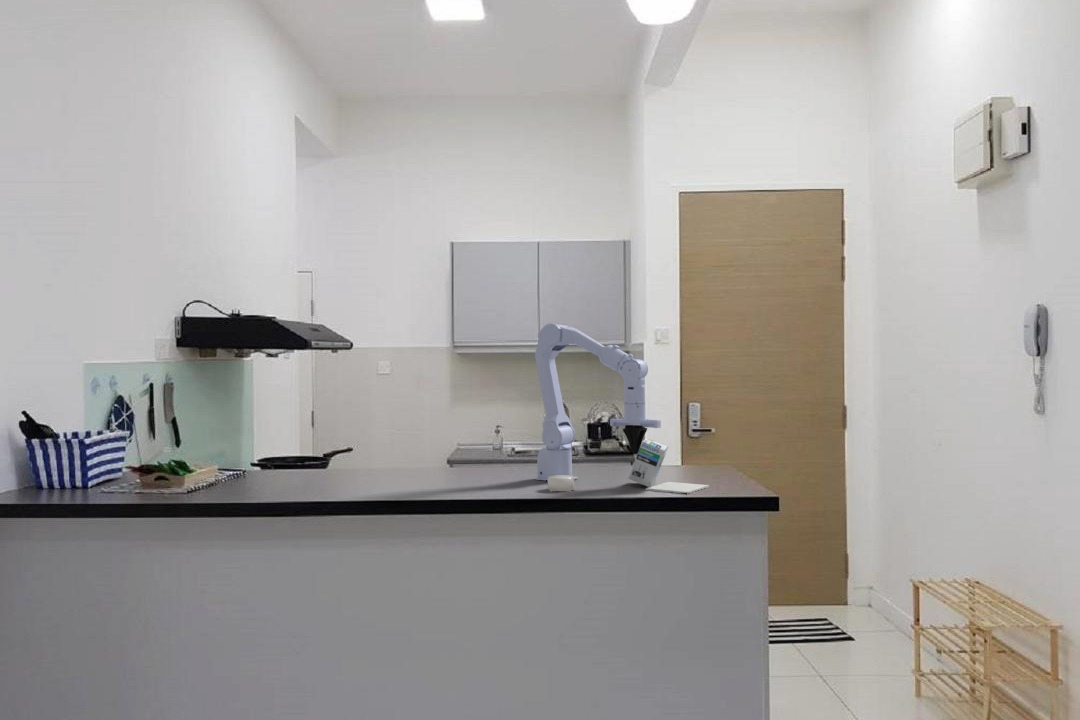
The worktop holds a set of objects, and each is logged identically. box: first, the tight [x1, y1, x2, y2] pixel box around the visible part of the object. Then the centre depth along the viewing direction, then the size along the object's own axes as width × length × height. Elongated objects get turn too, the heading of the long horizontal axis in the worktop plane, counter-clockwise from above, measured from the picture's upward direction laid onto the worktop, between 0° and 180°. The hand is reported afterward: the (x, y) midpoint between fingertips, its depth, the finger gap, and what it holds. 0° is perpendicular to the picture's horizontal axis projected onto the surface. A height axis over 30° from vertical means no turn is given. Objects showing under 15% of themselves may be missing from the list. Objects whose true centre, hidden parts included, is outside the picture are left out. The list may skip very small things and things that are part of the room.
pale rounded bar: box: [547, 475, 575, 492], centre depth 232 cm, size 7×7×4 cm
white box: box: [645, 481, 710, 495], centre depth 231 cm, size 12×13×1 cm
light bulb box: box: [628, 437, 669, 488], centre depth 237 cm, size 11×7×11 cm, turn 167°
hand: (635, 453), depth 239 cm, fingers closed
